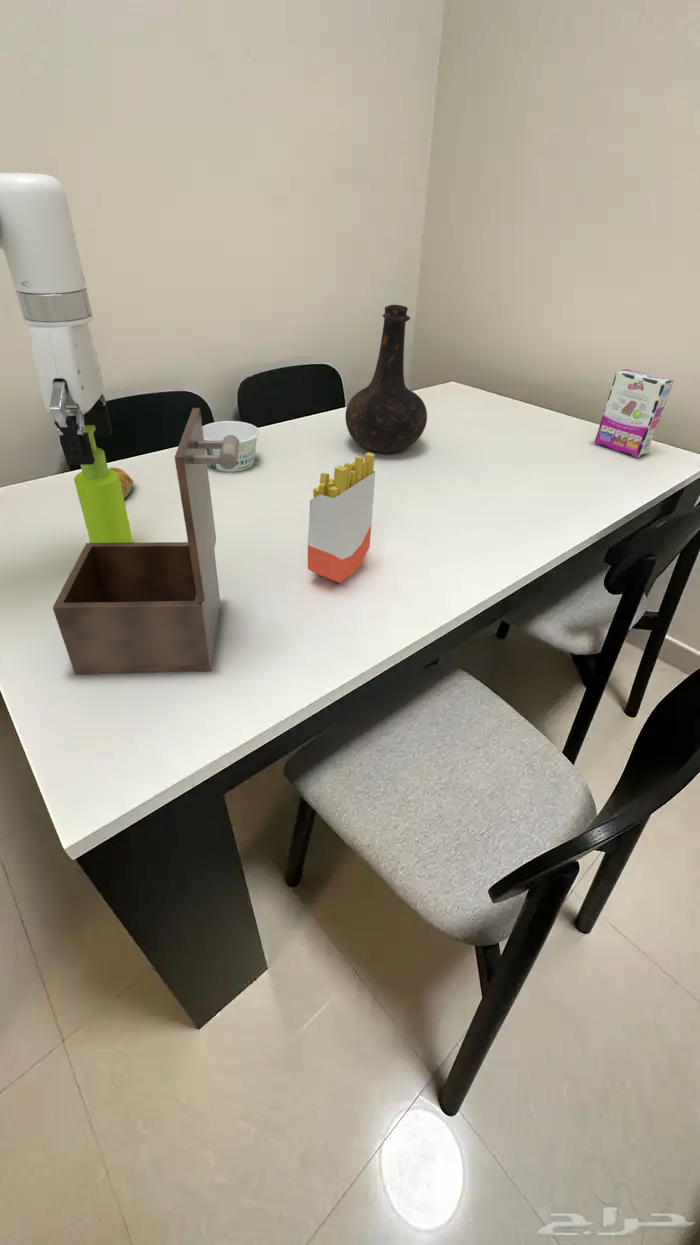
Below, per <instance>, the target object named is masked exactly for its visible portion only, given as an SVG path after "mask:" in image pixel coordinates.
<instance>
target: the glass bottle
mask: <svg viewBox="0 0 700 1245" xmlns="http://www.w3.org/2000/svg"><path fill="white" fill-rule="evenodd" d="M408 310H409V308H408V307H407V306H405V305H401V304H389V305H386V306H385V307H384V313H383V314H382V318H383V326H382V335H381V339H380V347H379V352H378V357H377V361H376V365H375V370H374V373H373V376H372V379H371V380H370V382H369V385H368V386H366V387H364V388H362V389H361V390H359V391H357V392H356V393H355V394H354V395H353V396H351V398H350V399H349V401H348V403H347V405H346V408H345V425H346V428H347V431H348V433H349V436H351V438H352V439H353V441H354V442H355V443H356V444H357V445H358V446H360V447H362V448H363V449H365V450H368V451H369V452H376V453H383V454H384V453H385V454H386V453H388V454H391V453H398V452H402V451H404V450H406V449H408V448H409V447H411V446H412V445H413V444H415V443H417V441H418V440H419V439H420V438H421V437H422V434H423V433H424V431H425V428H426V425H427V422H428V412H427V407H426V405H425V403H424V401H423V399H422V398H421V396H419V395H418V394H417V393H416V392H414V391H413V390H411V389H408V388H407V386H406V383H405V382H406V381H405V374H404V373H405V372H404V371H405V369H404V368H405V366H404V364H405V363H404V359H405V357H404V356H405V337H406V322H409V320H410V319H411V317H410V316H409V315H407V314H408V313H407V312H408Z"/></svg>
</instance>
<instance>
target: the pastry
mask: <svg viewBox="0 0 700 1245" xmlns="http://www.w3.org/2000/svg"><path fill="white" fill-rule="evenodd" d="M108 469H112V470H114V471H116V472H118V474H119V478H120V483H121V487H122V492H123V497H124V500H125V499H127V497H128V496H129V494H130V493H131V492H132V490H133V488H132V487H133V485H134V480H133V478H132V477H130V475H129V474H128V473H127V472H126V471H125V470H124V469H122V468H119V467H108Z"/></svg>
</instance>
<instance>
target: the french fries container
mask: <svg viewBox="0 0 700 1245" xmlns="http://www.w3.org/2000/svg"><path fill="white" fill-rule="evenodd" d="M375 457H376V454H375V453H372V452H370V451H368V452H366V453H365V454H364V457H363V456H361V455H357V456H355V459H354V461H353V462H351V463H350V462H346V463H344V465H343V466H342V465H337V466H336V467H334V473H333V478H332V477H330V473H326V472H321V473H320V478H319V479H320V480H319V485H318V486H316V487H315V488H313V489H312V494H313V495H312V496H313V498H311V499H310V500H309V511H308V512H309V513H308V514H309V516H308V532H307V536H308V537H307V569H308V570H309V571H311V572H312V573H314V574H317V575H318V576H321V577H323V578H326V579H328V580H331V581H333V582H335V583H338V584H343V582H345V581H346V580H347V579H348V578H349V577H351V576H352V575H353V574H354V573H355V572H357V571H358V570H359V569H360V568H361V566H362V564H363V562H364V559H365V558H366V555H367V553H368V551H369V549H370V546H371V534H372V522H373V510H374V509H373V508H374V496H375V495H374V493H375V483H376V482H375V481H376V471H375V470H374V468H375V467H374V466H375Z"/></svg>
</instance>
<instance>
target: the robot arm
mask: <svg viewBox="0 0 700 1245" xmlns="http://www.w3.org/2000/svg"><path fill="white" fill-rule="evenodd" d="M68 202H69V201H68V197H67V194H66V191H65V188H64V187H63V185H62V183H61V182H60V181H59V179H58V178H56V177H54V176H52V175H49V174H45V173H33V172H0V250H3V253H4V256H5V259H6V263H7V266H8V270H9V274H10V276H11V280H12V284H13V287H14V290H15V294H16V297H17V301H18V304H19V306H20V307H19V308H20V312H21V314H22V319H23V322H24V324H26V325H28V334H29V341H30V342H29V343H30V347H31V348H30V349H31V354H32V358H33V363H34V367H35V373H36V376H37V380H38V384H39V389H40V393H41V397H42V401H43V404H44V405H43V406H44V409H45V410H46V412H48V414H49V415H52V418H53V419H54V422H53V423H54V425H55V427H56V428H57V433H58V435H59V436H60V440H61V443H62V446H63V447H62V448H63V450H64V453H65V454H64V455H65V457H66V460H67V463H68V465H73V466H74V465H75V466H77V465H79V466H81V465H92V464H93V463H94V462H95V459H94V455H93V451H92V447H91V443H90V439H89V435H88V432H84V425H95V429H96V430H95V431H94V433H93V434H94V437H111V436H112V435H113V430H112V425H111V420H110V416H109V411H108V407H107V406H106V404H107V401H106V398H105V396H104V393H103V392H104V382H103V381H104V380H103V376H102V371H101V367H100V362H99V359H98V354H97V350H96V346H95V342H94V340H93V335H92V331H91V329H90V325H89V323H91V322H92V321H93V320H94V316H93V312H92V307H91V302H90V298H89V294H88V288H87V285H86V280H85V275H84V271H83V266H82V262H81V257H80V254H79V252H80V251H79V248H78V244H77V239H76V234H75V229H74V225H73V221H72V216H71V215H72V214H71V210H70V207H69V203H68ZM72 417H75V420H74V419H73V418H72Z"/></svg>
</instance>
